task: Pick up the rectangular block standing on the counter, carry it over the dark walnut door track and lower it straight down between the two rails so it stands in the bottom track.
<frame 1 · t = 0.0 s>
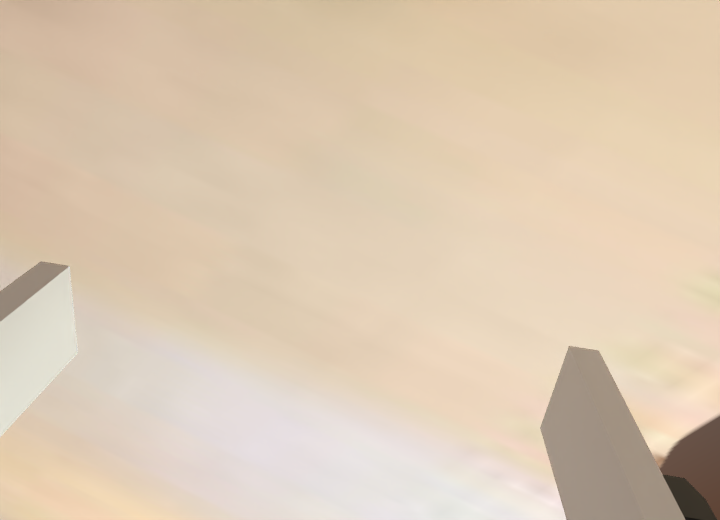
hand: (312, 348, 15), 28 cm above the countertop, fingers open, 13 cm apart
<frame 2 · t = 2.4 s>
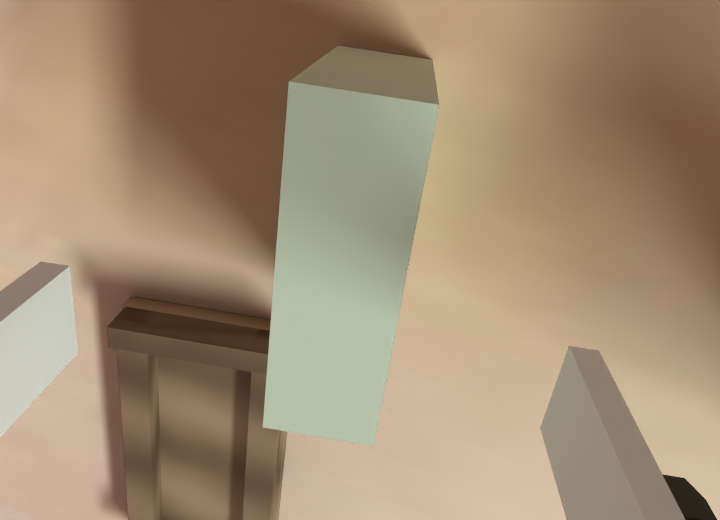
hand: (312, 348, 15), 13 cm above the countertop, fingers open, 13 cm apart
rectangular block: (365, 187, 27), on the countertop
track: (211, 438, 34), on the countertop
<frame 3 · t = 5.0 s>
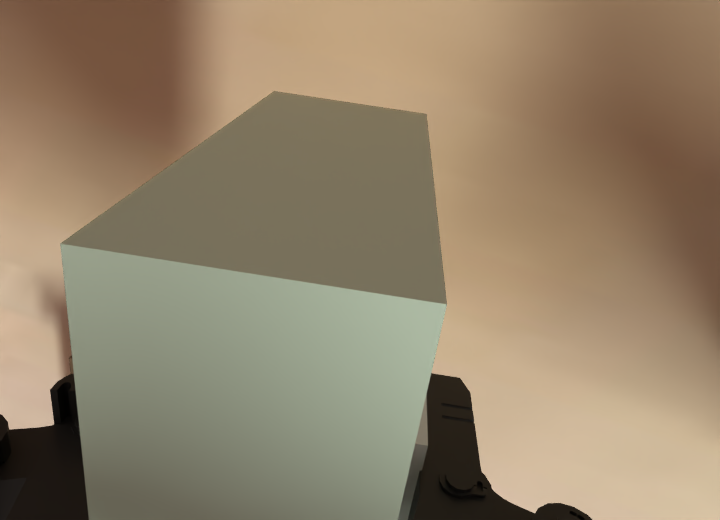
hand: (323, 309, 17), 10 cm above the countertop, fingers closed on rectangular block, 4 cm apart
rectangular block: (325, 302, 17), point 9 cm above the countertop, touching gripper
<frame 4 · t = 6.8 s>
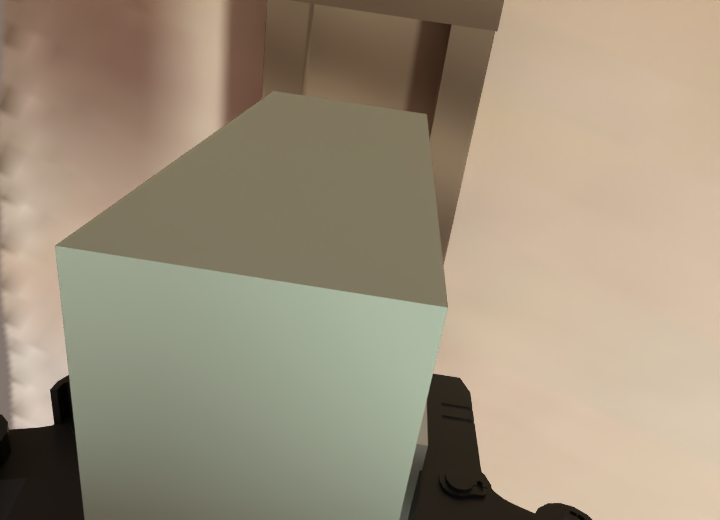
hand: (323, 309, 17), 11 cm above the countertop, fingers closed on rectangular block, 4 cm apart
rectangular block: (325, 303, 17), point 11 cm above the countertop, touching gripper
track: (358, 190, 27), on the countertop
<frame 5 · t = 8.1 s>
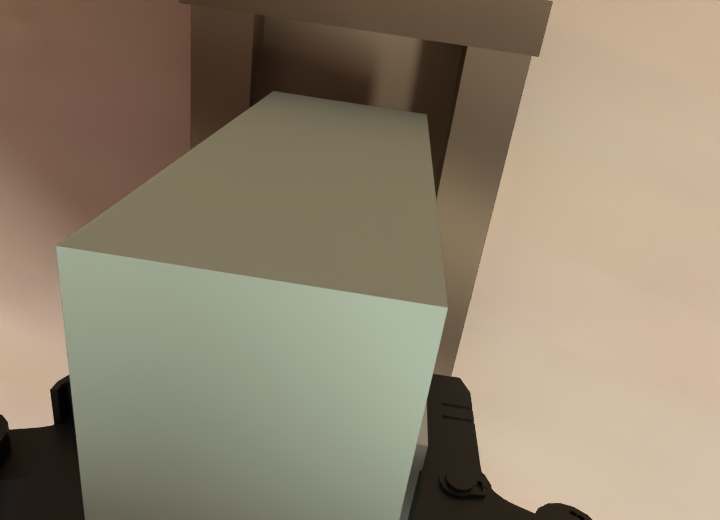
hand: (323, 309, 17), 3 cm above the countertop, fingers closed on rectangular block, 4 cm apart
rectangular block: (325, 303, 17), point 3 cm above the countertop, touching gripper
track: (335, 266, 20), on the countertop
when the fingers open (3 cm above the countertop, at t = 9.1 s): rectangular block drops 1 cm, resting on track.
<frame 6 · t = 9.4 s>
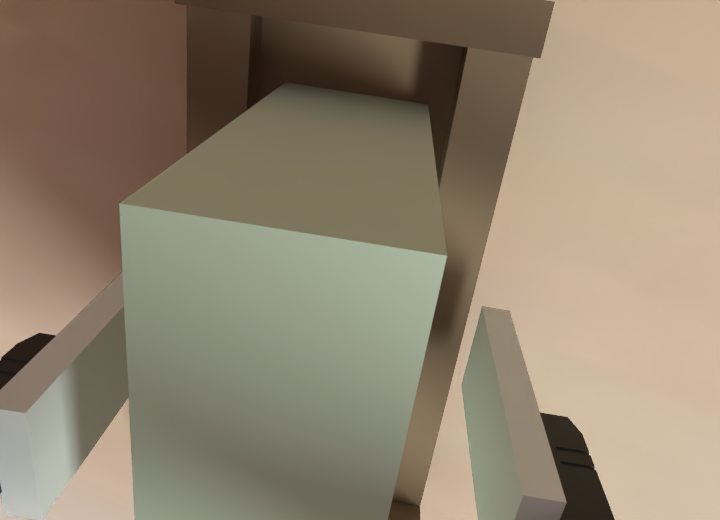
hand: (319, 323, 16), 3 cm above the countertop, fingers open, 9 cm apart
rectangular block: (331, 282, 18), point 1 cm above the countertop, touching track
track: (334, 270, 19), on the countertop
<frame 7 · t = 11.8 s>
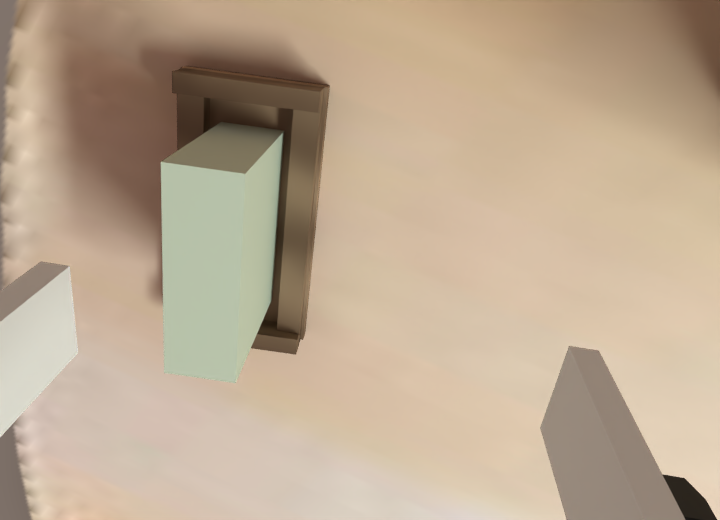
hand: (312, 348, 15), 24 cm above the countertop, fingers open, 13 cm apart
rectangular block: (248, 215, 38), point 1 cm above the countertop, touching track
track: (251, 211, 39), on the countertop
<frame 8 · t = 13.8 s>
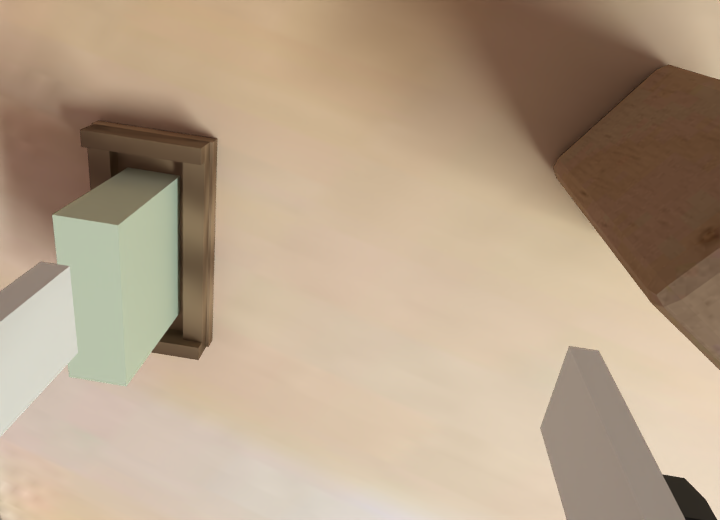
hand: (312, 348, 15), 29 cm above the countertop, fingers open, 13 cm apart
wooden block: (645, 160, 41), on the countertop
rectangular block: (155, 243, 46), point 1 cm above the countertop, touching track
track: (160, 239, 47), on the countertop
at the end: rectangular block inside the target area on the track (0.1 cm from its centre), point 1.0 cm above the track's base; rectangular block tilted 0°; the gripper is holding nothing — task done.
